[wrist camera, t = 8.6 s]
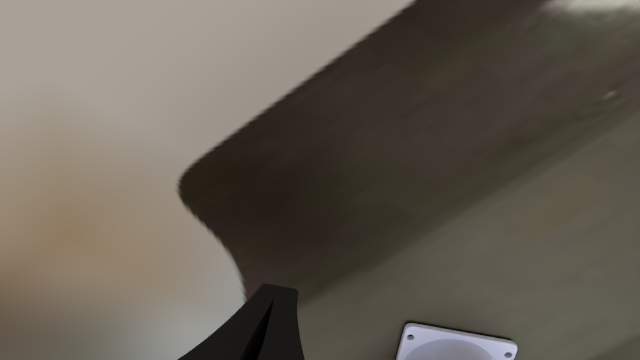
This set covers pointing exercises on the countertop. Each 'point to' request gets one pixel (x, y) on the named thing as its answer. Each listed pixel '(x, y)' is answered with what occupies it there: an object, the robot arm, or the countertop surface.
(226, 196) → the countertop surface
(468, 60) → the countertop surface
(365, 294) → the countertop surface
